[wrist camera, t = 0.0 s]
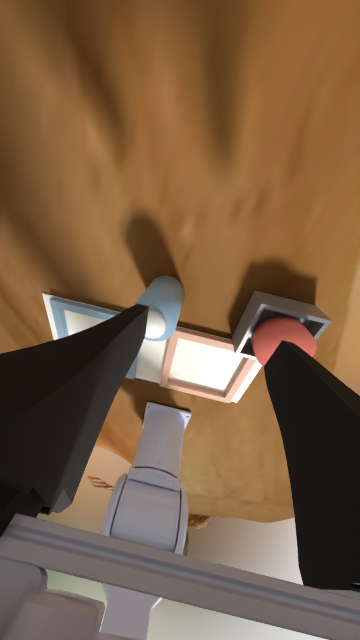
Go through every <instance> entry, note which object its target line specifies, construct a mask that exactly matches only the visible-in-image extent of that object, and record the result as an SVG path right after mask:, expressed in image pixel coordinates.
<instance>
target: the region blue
mask: <svg viewBox="0 0 360 640" xmlns="http://www.w3.org/2000/svg"><path fill="white" fill-rule="evenodd" d="M49 300H50V305H51V309H52V313H53V317H54V322H55V326H56V330H57V335H58V339H60V338H63V337H66V336H69V333H68V327H67V322H66V317H65V311H64V310H67V311H71V312H75V313H79V314H83V315H87V316H91V317H95V318H99V319H103V320H108V319H110V318H112V317H114V316H116V315H117V314H119V312H115V311H111V310H107V309H103V308H99V307H95V306H91V305H87V304H83V303H79V302H74V301H70V300H66V299H62V298H58V297H52V298H51V299H49ZM137 357H138V355H137V356H136V358H135V360H134V362H133V364H132V365H131V367H130V369H129V371H128V373H127V374H126V376H125V378H129V379H133V380H134V378H135V376H136V367H137Z"/></svg>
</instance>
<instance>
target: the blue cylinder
mask: <svg viewBox="0 0 360 640" xmlns="http://www.w3.org/2000/svg"><path fill="white" fill-rule="evenodd" d="M184 294H185V293H184V288H183V286H182V284H181V283H180V282H179V281H178V280H177V279H176V278H174V277H171V276H167V275H163V276H159V277H157V278H155V279H154V280H153V281H152V282H151V284H150V285H149V286H148V287H147V289H146V290H145V291H144V293H143V294H142V295H141V297H140V298H139V299H138V301H137V302H136V303H135V305H136V304H142V305H146V306H149V311H148V319H147V326H146V334H145V338H144V339H146V340H149V341H163V340H166V339H168V338H170V337H171V336H172V335H173V333H174V332H175V329H176V326H177V322H178V318H179V315H180V311H181V307H182V303H183V300H184Z"/></svg>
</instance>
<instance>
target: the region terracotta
mask: <svg viewBox="0 0 360 640" xmlns="http://www.w3.org/2000/svg"><path fill="white" fill-rule="evenodd" d="M178 338H180V339H184V340H188V341H192V342H197V343H201V344H205V345H209V346H213V347H217V348H221V349H225V350H229V351H233V352H234V347H233V342H232V340H228V339H224V338H220V337H216V336H212V335H208V334H204V333H200V332H196V331H192V330H188V329H184V328H180V327H176V329H175V332H174V333H173V335H172V336H171V337H170V340H169V345H168V349H167V354H166V358H165V363H164V367H163V372H162V376H161V381H160V385H159V386H161V387H165V388H169V389H173V390H178V391H182V392H186V393H190V394H194V395H198V396H202V397H206V398H210V399H214V400H218V401H222V402H226V403H230V402H231V400H232V399H233V397H234V395H235V394H236V392H237V391H238V389H239V388H240V386H241V384H242V383H243V381H244V380H245V378H246V377H247V375H248V373H249V372H250V370H251V369H252V367H253V365H254V364H255V362H256V361H257V360H254V359H250V358H245V359H244V361H243V363H242V365H241V366H240V368H239V370H238V371H237V373H236V375H235V377H234V378H233V380H232V382H231V384H230V385H229V387H228V389H227V391H226V392H225V393H221V392H217V391H213V390H209V389H205V388H201V387H197V386H193V385H189V384H185V383H181V382H177V381H173V380H169V379H168V377H169V373H170V369H171V365H172V361H173V357H174V353H175V350H176V346H177V342H178Z"/></svg>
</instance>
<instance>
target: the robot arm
mask: <svg viewBox="0 0 360 640" xmlns="http://www.w3.org/2000/svg"><path fill="white" fill-rule="evenodd" d="M148 311H149V306H146V305H142V304H136V305H134V306H132V307H130V308H129V309H127V310H125V311H123V312H121V313H119V314H117V315H116V316H114V317H112V318H110V319H108V320H105V321H103V322H101V323H99V324H97V325H95V326H92V327H90V328H88V329H85V330H83V331H80V332H77V333H75V334H72V335H69V336H66V337H63V338H60V339H56V340H53V341H49V342H46V343H43V344H39V345H36V346H32V347H28V348H24V349H20V350H16V351H11V352H6V353H2V354H0V640H146V639H147V632H148V625H149V618H150V611H151V610H152V609H153V607H154V606H155V605H156V604H157V603H158V602H159V601H160V600H161V599H162V598H164V599H168V600H173V601H177V602H181V603H185V604H189V605H193V606H197V607H200V608H204V609H208V610H212V611H216V612H221V613H225V614H229V615H232V616H236V617H240V618H245V619H248V620H253V621H256V622H260V623H265V624H269V625H272V626H276V627H281V628H285V629H288V630H292V631H296V632H301V633H305V634H308V635H312V636H316V637H321V638H324V639H329V640H360V396H359V395H358V394H356V393H355V392H354V391H353V390H351V389H350V388H349V387H347V386H346V385H345V384H344V383H343V382H341V381H340V380H339V379H338V378H336V377H335V376H334V375H333V374H332V373H330V372H329V371H328V370H327V369H326V368H324V367H323V366H322V365H321V364H320V363H319V362H317V361H316V360H315V359H314V358H313V357H311V356H310V355H309V354H308V353H306V352H305V351H304V350H303V349H301V348H300V347H299V346H297V345H296V344H294V343H292V342H288V341H284V340H282V341H281V342H280V344H279V345H278V347H277V348H276V350H275V351H274V352H273V354H272V355H271V357H270V358H269V360H268V361H267V362H266V364H265V365H264V371H265V378H266V384H267V388H268V391H269V394H270V398H271V401H272V404H273V408H274V411H275V414H276V417H277V421H278V424H279V427H280V431H281V435H282V439H283V444H284V449H285V454H286V459H287V465H288V471H289V477H290V483H291V491H292V499H293V506H294V514H295V524H296V535H297V546H298V561H299V569H300V573H301V577H302V581H303V585H300V584H296V583H292V582H288V581H284V580H280V579H276V578H272V577H268V576H264V575H260V574H256V573H252V572H248V571H244V570H240V569H236V568H233V567H228V566H225V565H221V564H216V563H212V562H209V561H205V560H200V559H197V558H193V557H189V556H185V555H183V548H184V544H185V539H186V532H187V523H188V497H187V494H186V492H185V489H184V488H181V480H180V479H179V473H180V464H181V455H182V445H183V436H184V430H185V428H186V426H187V423H188V421H189V419H190V417H191V412H188V411H184V410H180V409H176V408H172V407H168V406H164V405H160V404H156V403H152V402H147V405H146V410H145V416H144V422H143V430H142V433H141V437H140V440H139V444H138V447H137V450H136V454H135V457H134V460H133V464H132V467H130V469H129V473H128V476H127V474H123V475H122V476H121V477H119V478H118V480H117V482H116V485H115V487H114V490H113V493H112V495H111V499H110V502H109V505H108V508H107V511H106V514H105V518H104V521H103V525H102V529H101V534H96V533H93V532H89V531H85V530H81V529H77V528H73V527H69V526H65V525H61V524H57V523H53V522H49V521H45V520H41V519H37V518H36V517H37V515H38V513H42V514H46V515H50V513H51V512H56V513H60V512H62V511H63V510H64V509H66V508H67V507H68V506H70V505H71V504H72V502H73V499H74V496H75V493H76V491H77V488H78V486H79V483H80V481H81V478H82V475H83V473H84V470H85V468H86V465H87V462H88V460H89V457H90V455H91V452H92V450H93V448H94V445H95V443H96V440H97V438H98V435H99V433H100V430H101V428H102V426H103V423H104V421H105V418H106V416H107V414H108V411H109V409H110V407H111V404H112V402H113V400H114V397H115V395H116V393H117V391H118V389H119V387H120V385H121V383H122V382H123V380H124V378H125V376H126V374H127V373H128V371H129V369H130V367H131V365H132V364H133V362H134V360H135V358H136V356H137V355H138V353H139V351H140V348H141V346H142V343H143V341H144V338H145V334H146V326H147V319H148ZM44 568H45V569H49V570H53V571H57V572H61V573H65V574H69V575H73V576H77V577H81V578H85V579H89V580H93V581H97V582H101V584H102V587H103V590H104V592H105V595H106V598H107V603H108V604H107V608H106V612H105V616H104V620H103V624H102V628H101V632H99V630H100V626H101V622H102V618H103V614H104V610H105V605H104V603H103V602H101V601H97V600H94V599H91V598H88V597H85V596H81V595H78V594H75V593H71V592H66V591H61V590H52V589H48V588H47V573H46V570H45V569H44Z"/></svg>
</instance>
